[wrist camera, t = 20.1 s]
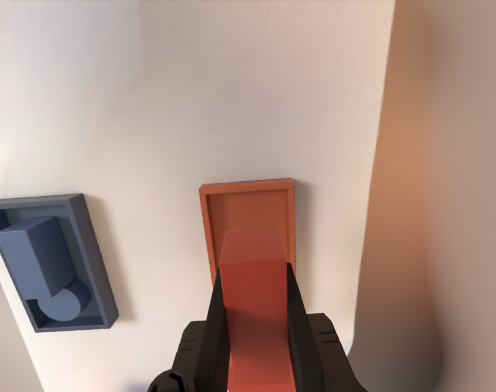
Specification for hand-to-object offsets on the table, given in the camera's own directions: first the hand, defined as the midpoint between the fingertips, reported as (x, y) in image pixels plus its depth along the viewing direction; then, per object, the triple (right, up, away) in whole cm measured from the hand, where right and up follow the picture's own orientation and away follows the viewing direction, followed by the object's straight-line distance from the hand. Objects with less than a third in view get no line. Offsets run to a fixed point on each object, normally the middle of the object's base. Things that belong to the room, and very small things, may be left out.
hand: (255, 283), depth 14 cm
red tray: (0, -1, +12) cm, 12 cm away
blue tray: (-22, -2, +12) cm, 25 cm away
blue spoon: (-22, -2, +12) cm, 25 cm away
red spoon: (0, -2, +1) cm, 2 cm away
